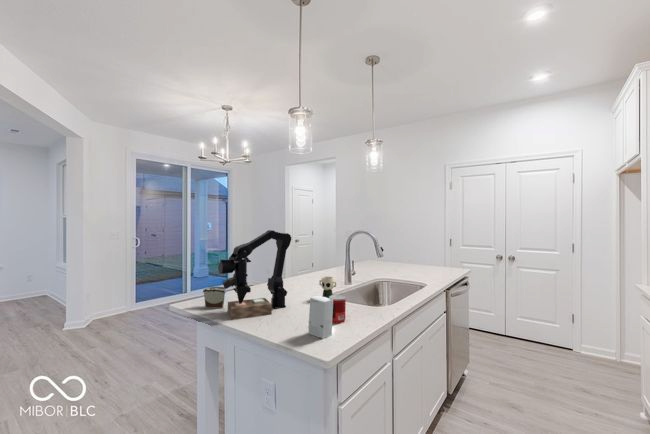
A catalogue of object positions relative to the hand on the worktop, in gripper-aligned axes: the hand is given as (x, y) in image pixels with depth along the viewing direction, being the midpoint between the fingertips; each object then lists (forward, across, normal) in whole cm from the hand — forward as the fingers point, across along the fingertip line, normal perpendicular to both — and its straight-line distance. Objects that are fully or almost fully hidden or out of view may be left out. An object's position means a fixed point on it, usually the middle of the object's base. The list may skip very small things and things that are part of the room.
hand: (240, 303), depth 147 cm
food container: (+5, -19, -9) cm, 22 cm away
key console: (+5, 0, +4) cm, 7 cm away
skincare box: (+5, +40, +25) cm, 47 cm away
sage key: (+3, 0, +9) cm, 9 cm away
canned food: (+5, +28, +39) cm, 48 cm away
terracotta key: (+4, 0, 0) cm, 4 cm away
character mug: (+5, -6, +51) cm, 52 cm away
